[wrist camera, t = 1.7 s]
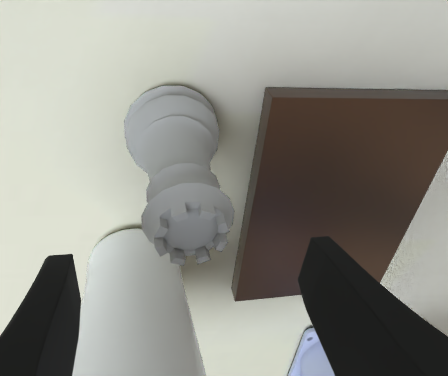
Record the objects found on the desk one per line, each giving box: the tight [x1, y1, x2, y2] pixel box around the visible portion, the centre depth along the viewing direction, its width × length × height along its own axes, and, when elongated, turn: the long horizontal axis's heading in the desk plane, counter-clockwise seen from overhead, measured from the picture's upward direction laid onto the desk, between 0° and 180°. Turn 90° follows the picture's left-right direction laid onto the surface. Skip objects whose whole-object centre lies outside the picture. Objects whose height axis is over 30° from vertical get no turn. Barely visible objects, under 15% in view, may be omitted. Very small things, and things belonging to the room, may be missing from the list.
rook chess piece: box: [124, 86, 234, 266], centre depth 16 cm, size 4×4×8 cm
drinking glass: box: [72, 229, 206, 376], centre depth 18 cm, size 7×7×15 cm
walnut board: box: [231, 87, 448, 301], centre depth 24 cm, size 15×11×1 cm
